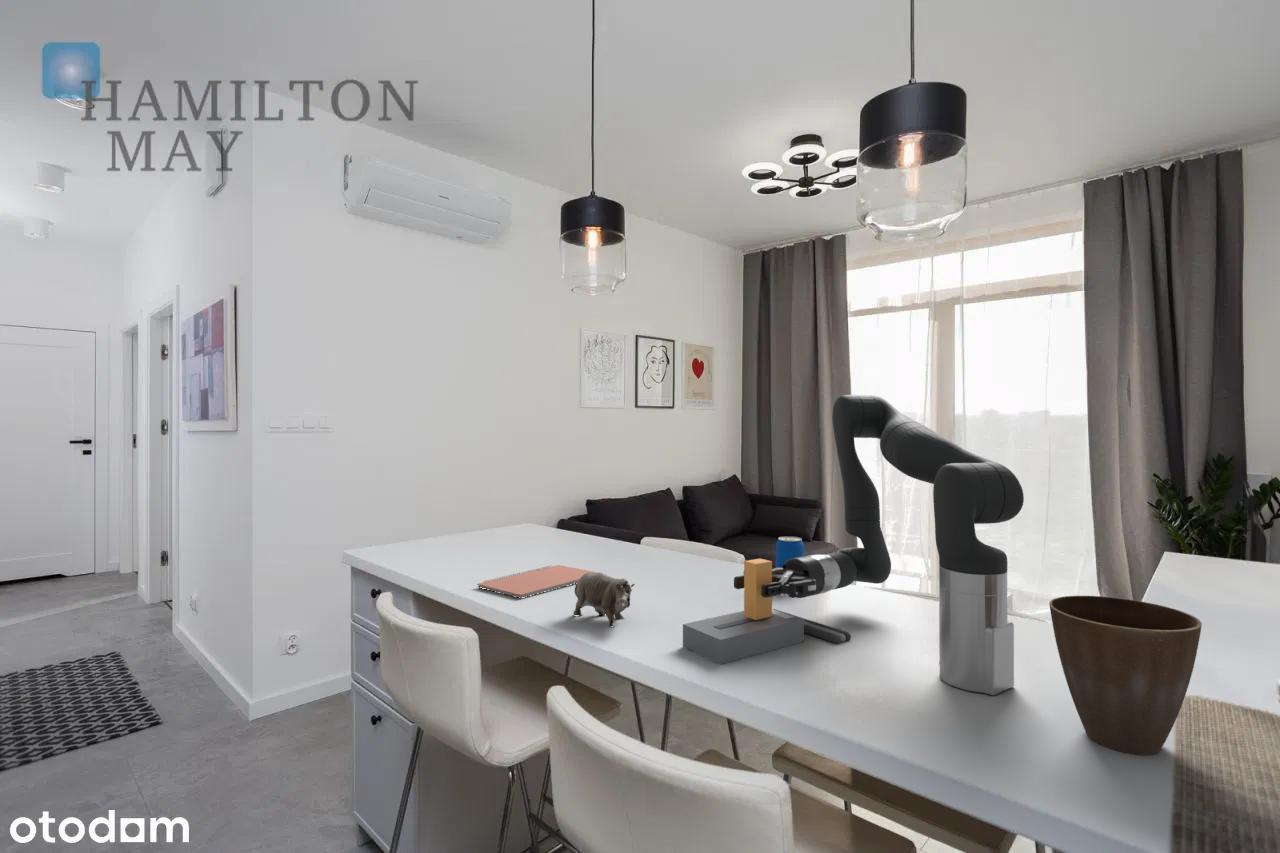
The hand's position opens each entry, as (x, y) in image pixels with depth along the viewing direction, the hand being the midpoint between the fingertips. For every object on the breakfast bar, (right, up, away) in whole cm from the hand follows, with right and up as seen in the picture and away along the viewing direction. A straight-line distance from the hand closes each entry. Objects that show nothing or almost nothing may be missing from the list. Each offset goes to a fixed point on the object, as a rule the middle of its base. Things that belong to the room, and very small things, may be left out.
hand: (748, 587), depth 114 cm
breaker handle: (+2, -6, +1) cm, 6 cm away
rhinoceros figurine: (-26, -10, +13) cm, 31 cm away
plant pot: (+40, -10, -36) cm, 55 cm away
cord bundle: (+10, -10, +6) cm, 15 cm away
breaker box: (-1, -10, -1) cm, 10 cm away
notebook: (-45, -11, +45) cm, 64 cm away
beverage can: (+17, -10, +39) cm, 44 cm away
